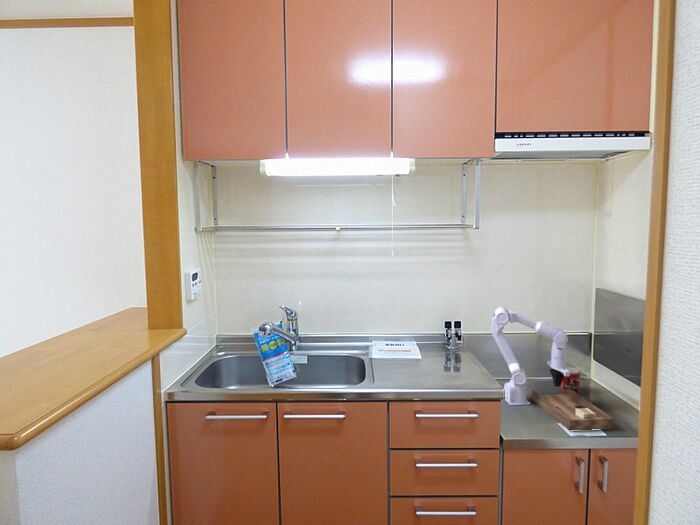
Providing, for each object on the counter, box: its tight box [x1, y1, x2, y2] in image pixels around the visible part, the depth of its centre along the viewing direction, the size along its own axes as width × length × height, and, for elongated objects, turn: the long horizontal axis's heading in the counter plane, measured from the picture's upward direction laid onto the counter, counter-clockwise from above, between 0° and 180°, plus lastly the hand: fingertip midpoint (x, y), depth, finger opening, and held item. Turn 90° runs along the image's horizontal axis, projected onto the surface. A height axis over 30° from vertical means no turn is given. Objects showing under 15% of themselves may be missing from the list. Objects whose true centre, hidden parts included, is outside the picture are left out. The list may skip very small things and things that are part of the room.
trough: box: [531, 389, 615, 431], centre depth 172 cm, size 18×29×4 cm, turn 4°
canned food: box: [560, 366, 581, 395], centre depth 194 cm, size 8×8×11 cm
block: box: [575, 408, 596, 419], centre depth 162 cm, size 5×5×4 cm
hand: (557, 385), depth 179 cm, fingers closed
